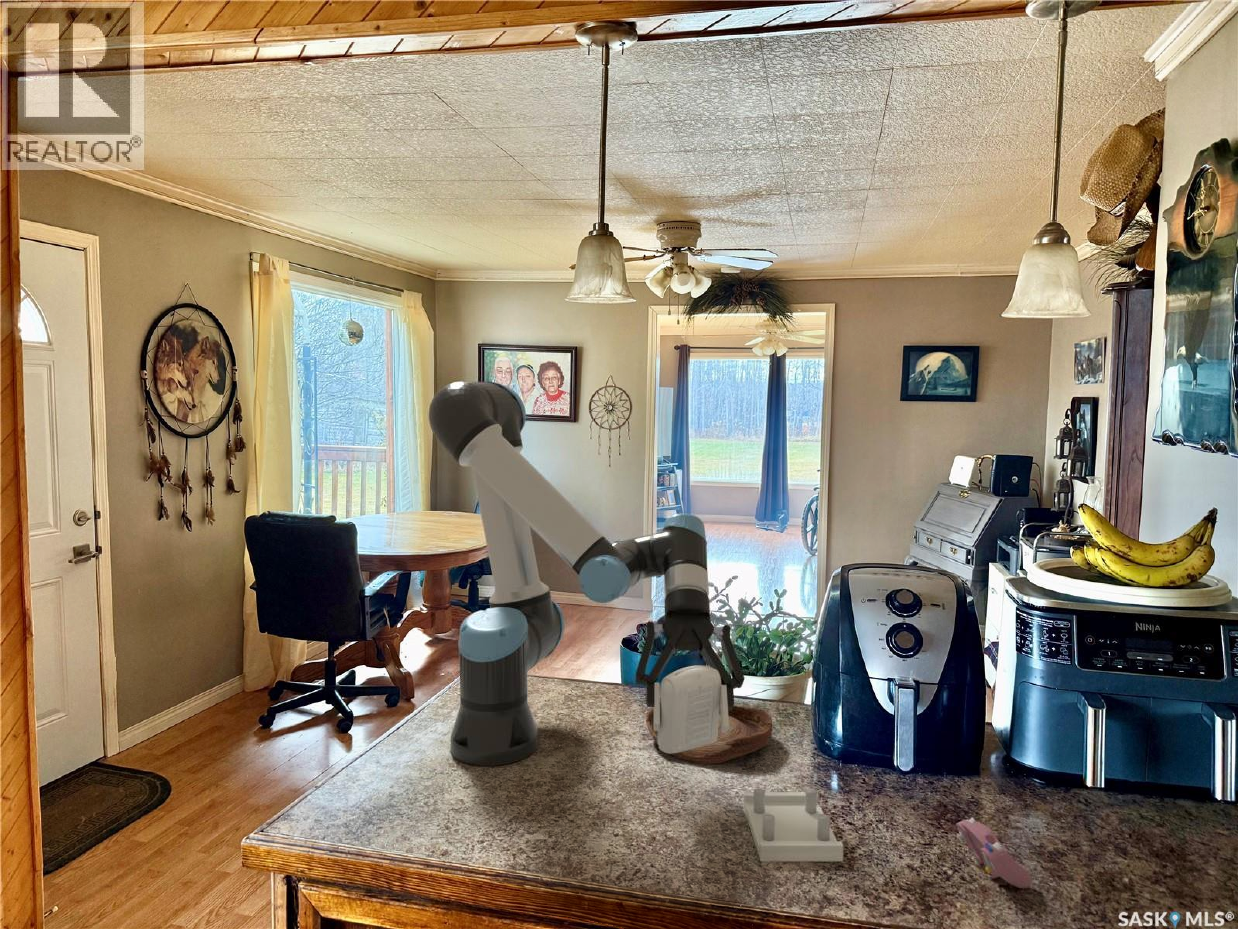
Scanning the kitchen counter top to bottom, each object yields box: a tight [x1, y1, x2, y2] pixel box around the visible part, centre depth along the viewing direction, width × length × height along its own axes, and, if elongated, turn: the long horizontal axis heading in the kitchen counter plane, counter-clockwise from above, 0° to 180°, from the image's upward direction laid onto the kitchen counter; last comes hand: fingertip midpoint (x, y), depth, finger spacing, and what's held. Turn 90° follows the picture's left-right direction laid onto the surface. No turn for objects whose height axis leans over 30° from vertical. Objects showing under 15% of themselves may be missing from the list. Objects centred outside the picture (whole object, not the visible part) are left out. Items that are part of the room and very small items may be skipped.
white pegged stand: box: [742, 788, 844, 862], centre depth 112 cm, size 14×11×4 cm
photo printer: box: [657, 664, 721, 755], centre depth 121 cm, size 10×4×12 cm, turn 124°
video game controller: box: [955, 817, 1033, 889], centre depth 103 cm, size 10×5×7 cm, turn 6°
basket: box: [645, 704, 773, 765], centre depth 141 cm, size 22×20×5 cm
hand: (691, 728), depth 118 cm, fingers closed on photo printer, 10 cm apart
